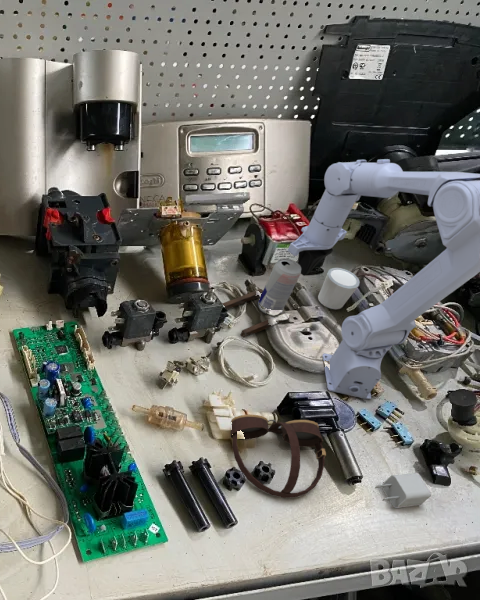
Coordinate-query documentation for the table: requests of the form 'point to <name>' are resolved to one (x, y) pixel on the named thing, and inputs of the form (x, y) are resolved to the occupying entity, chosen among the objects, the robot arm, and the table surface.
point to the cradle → (245, 299)
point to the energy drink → (280, 284)
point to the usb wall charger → (405, 490)
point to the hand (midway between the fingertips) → (302, 272)
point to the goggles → (292, 433)
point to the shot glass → (337, 288)
